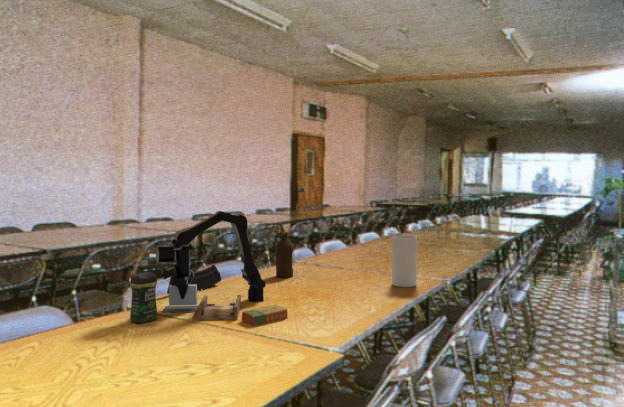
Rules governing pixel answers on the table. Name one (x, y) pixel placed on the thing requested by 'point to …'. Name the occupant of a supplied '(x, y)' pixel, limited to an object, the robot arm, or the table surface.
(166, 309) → the mat
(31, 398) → the table surface
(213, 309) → the offcut stack
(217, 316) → the rack
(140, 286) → the coffee jar
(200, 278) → the magazine
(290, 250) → the olive oil
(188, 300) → the block
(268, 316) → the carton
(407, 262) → the cylinder vase
